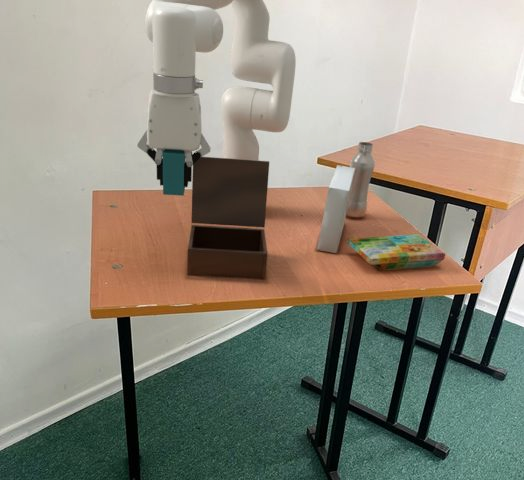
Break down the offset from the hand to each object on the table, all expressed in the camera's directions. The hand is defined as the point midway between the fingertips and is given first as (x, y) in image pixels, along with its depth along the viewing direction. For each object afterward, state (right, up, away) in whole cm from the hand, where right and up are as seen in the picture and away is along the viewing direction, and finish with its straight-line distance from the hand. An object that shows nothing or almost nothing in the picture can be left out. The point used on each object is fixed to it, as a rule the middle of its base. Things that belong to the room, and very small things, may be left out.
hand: (174, 183), depth 117 cm
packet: (0, -1, +1) cm, 1 cm away
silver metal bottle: (+43, +5, +50) cm, 66 cm away
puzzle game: (+49, -12, +25) cm, 56 cm away
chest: (+10, -15, +15) cm, 23 cm away
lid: (+10, +2, +13) cm, 17 cm away
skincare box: (+36, -4, +35) cm, 50 cm away
